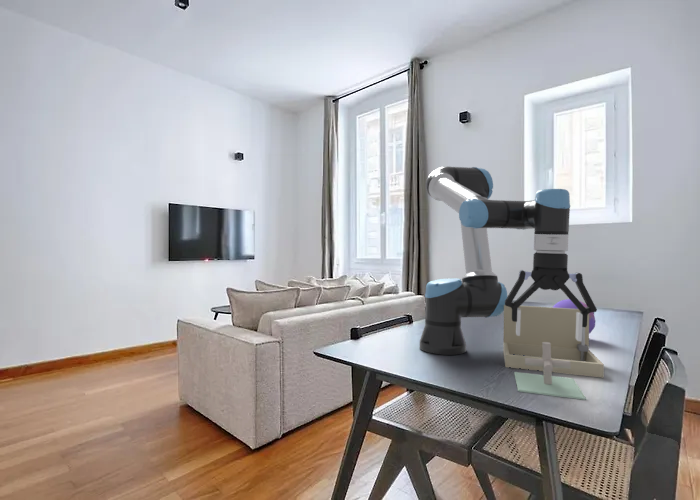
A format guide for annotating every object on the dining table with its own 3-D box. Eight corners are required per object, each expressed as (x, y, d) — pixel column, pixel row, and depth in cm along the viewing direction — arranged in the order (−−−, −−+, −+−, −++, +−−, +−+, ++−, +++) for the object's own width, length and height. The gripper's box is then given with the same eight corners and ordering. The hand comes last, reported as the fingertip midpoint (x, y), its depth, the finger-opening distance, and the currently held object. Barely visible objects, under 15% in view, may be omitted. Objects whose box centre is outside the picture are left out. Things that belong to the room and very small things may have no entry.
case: (505, 367, 109) (506, 312, 109) (503, 352, 125) (503, 304, 125) (603, 377, 101) (604, 319, 101) (587, 360, 117) (588, 309, 117)
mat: (518, 391, 91) (518, 389, 91) (514, 373, 104) (514, 371, 104) (586, 400, 86) (586, 398, 86) (573, 379, 99) (573, 378, 99)
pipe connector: (568, 378, 98) (566, 339, 98) (573, 392, 88) (572, 349, 89) (525, 375, 102) (523, 337, 102) (526, 387, 92) (524, 346, 93)
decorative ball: (604, 344, 137) (604, 302, 137) (561, 343, 137) (562, 301, 137) (579, 334, 152) (580, 296, 152) (541, 334, 152) (542, 296, 152)
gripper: (497, 251, 95) (494, 335, 96) (614, 254, 87) (610, 346, 88) (496, 250, 102) (493, 329, 103) (604, 253, 94) (600, 338, 95)
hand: (547, 337), depth 96 cm, fingers open, 13 cm apart
